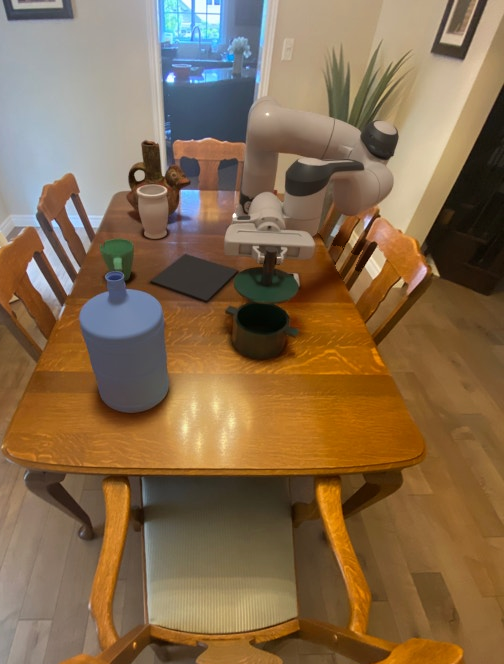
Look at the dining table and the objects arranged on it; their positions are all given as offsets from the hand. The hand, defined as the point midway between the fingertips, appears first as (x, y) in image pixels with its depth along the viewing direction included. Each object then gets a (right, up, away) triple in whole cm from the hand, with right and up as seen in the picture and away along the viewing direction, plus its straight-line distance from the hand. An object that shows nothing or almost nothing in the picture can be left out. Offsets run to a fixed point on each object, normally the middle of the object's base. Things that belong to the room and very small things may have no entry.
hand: (270, 261), depth 78 cm
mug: (-39, +7, +35) cm, 53 cm away
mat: (-17, +9, +37) cm, 42 cm away
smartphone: (+8, +8, +37) cm, 39 cm away
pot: (0, -14, +17) cm, 22 cm away
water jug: (-30, -27, +5) cm, 41 cm away
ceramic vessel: (-32, +42, +66) cm, 85 cm away
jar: (-32, +31, +57) cm, 72 cm away
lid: (0, -4, +5) cm, 6 cm away
